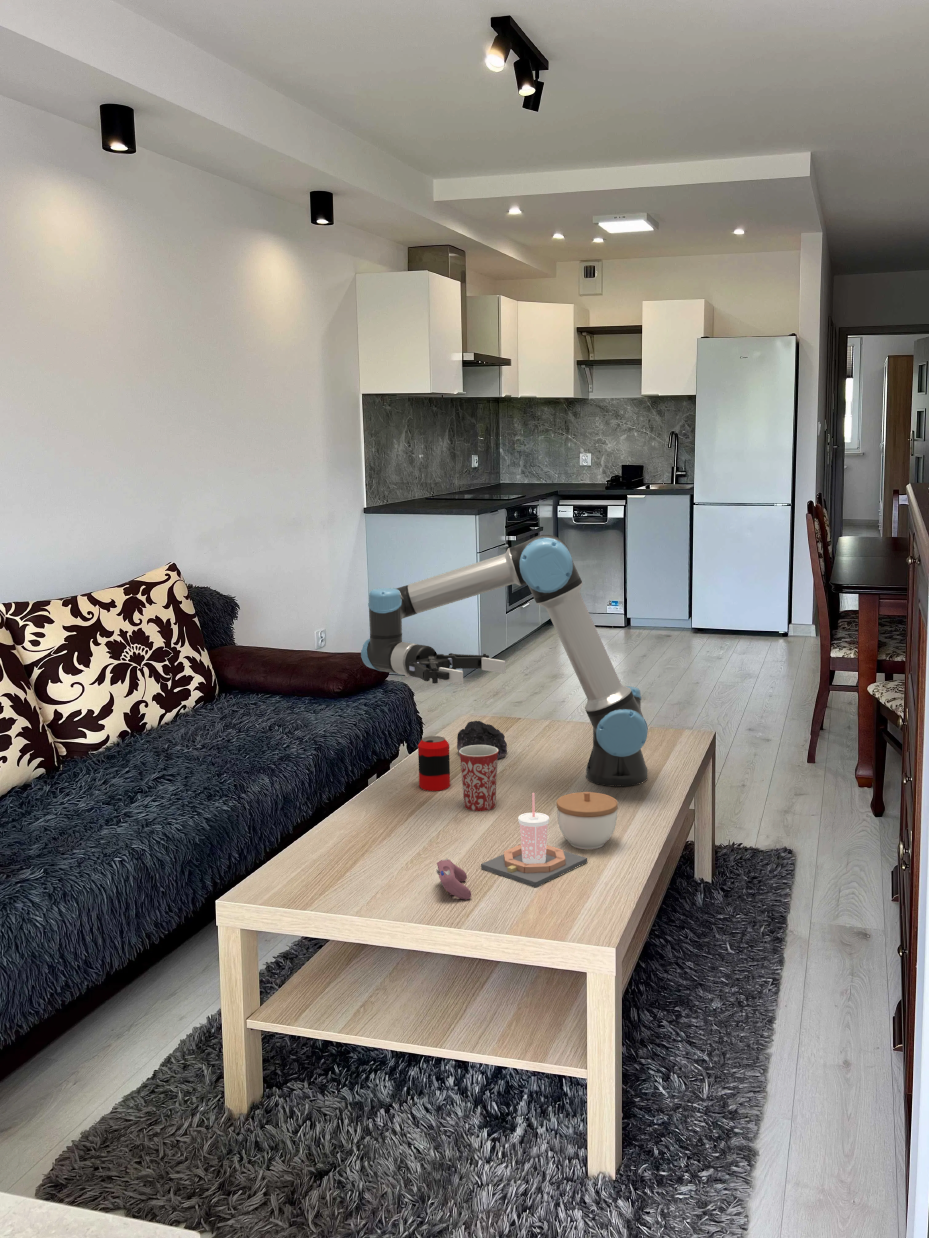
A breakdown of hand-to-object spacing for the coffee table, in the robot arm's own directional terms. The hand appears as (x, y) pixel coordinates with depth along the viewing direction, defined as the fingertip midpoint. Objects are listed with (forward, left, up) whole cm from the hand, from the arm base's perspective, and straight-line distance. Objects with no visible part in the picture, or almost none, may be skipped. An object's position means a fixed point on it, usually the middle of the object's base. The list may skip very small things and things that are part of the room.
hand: (483, 672), depth 235 cm
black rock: (-38, -36, -34) cm, 63 cm away
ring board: (+12, +24, -34) cm, 43 cm away
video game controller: (+31, +20, -34) cm, 50 cm away
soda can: (-11, -27, -34) cm, 45 cm away
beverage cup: (+12, +24, -33) cm, 43 cm away
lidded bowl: (-5, +24, -34) cm, 42 cm away
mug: (-9, -9, -34) cm, 37 cm away
